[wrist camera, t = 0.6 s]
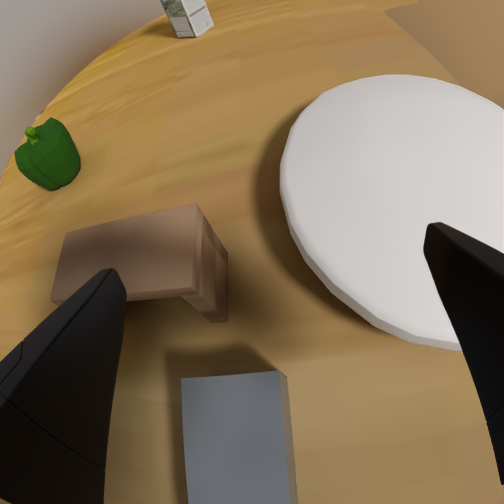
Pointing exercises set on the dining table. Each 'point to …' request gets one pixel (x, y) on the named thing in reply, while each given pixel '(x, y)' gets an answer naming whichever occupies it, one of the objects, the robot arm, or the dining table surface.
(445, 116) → the plate
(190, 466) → the slate slab
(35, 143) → the bell pepper
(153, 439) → the dining table surface
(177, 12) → the syrup box
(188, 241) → the walnut shelf
